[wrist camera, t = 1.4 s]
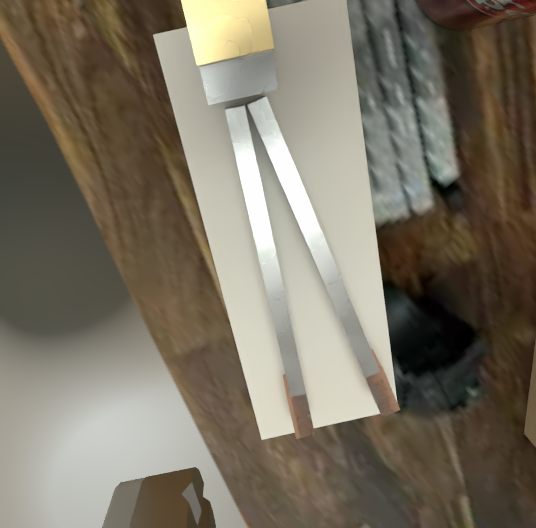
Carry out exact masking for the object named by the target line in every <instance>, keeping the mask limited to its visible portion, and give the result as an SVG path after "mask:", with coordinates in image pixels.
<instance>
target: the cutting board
mask: <svg viewBox="0 0 536 528" xmlns="http://www.w3.org/2000/svg"><path fill="white" fill-rule="evenodd" d="M268 15H269V20H270V26H271V31H272V36H273V42H274V47H275V48H274V49H273V50H272V56H273V62H274V67H275V73H276V78H277V83H278V89H279V90H274V91H270V92H265V93H261V94H256V95H252V96H247V97H243V98H238V99H234V100H229V101H225V102H220V103H216V104H211V105H208V101H207V97H206V93H205V89H204V85H203V81H202V76H201V72H200V68H199V66H197V64H196V60H195V55H194V51H193V47H192V43H191V39H190V35H189V31H188V27H185V28H181V29H176V30H172V31H168V32H163V33H159V34H154V35H153V37H154V41H155V44H156V48H157V52H158V56H159V59H160V63H161V67H162V70H163V74H164V78H165V82H166V85H167V89H168V93H169V96H170V100H171V104H172V108H173V111H174V115H175V119H176V122H177V126H178V130H179V134H180V137H181V141H182V145H183V149H184V152H185V156H186V160H187V163H188V167H189V171H190V175H191V178H192V182H193V186H194V189H195V193H196V197H197V201H198V204H199V208H200V212H201V215H202V219H203V223H204V227H205V230H206V234H207V238H208V241H209V245H210V249H211V253H212V256H213V260H214V264H215V268H216V271H217V275H218V279H219V282H220V286H221V290H222V294H223V297H224V301H225V305H226V308H227V312H228V316H229V320H230V323H231V327H232V331H233V334H234V338H235V342H236V346H237V349H238V353H239V357H240V361H241V364H242V368H243V372H244V375H245V379H246V383H247V387H248V390H249V394H250V398H251V401H252V405H253V409H254V413H255V416H256V420H257V424H258V427H259V431H260V435H261V439H262V440H263V439H267V438H272V437H276V436H281V435H285V434H290V433H294V432H295V431H294V427H293V422H292V418H291V414H290V410H289V405H288V401H287V396H286V391H285V385H284V380H283V375H284V374H285V370H284V366H283V361H282V357H281V353H280V348H279V344H278V340H277V335H276V331H275V327H274V322H273V318H272V313H271V309H270V305H269V300H268V296H267V292H266V287H265V283H264V279H263V274H262V270H261V266H260V261H259V257H258V252H257V248H256V244H255V239H254V235H253V231H252V226H251V222H250V218H249V213H248V209H247V205H246V200H245V196H244V191H243V187H242V183H241V178H240V174H239V170H238V165H237V161H236V157H235V152H234V148H233V144H232V139H231V135H230V130H229V126H228V122H227V117H226V113H225V108H226V107H230V106H235V105H239V104H244V105H245V109H246V114H247V119H248V123H249V128H250V133H251V137H252V142H253V147H254V151H255V156H256V161H257V165H258V170H259V175H260V179H261V184H262V189H263V193H264V198H265V203H266V208H267V212H268V217H269V222H270V226H271V231H272V236H273V240H274V245H275V250H276V254H277V259H278V264H279V268H280V273H281V278H282V282H283V287H284V292H285V296H286V301H287V306H288V311H289V315H290V320H291V325H292V329H293V334H294V339H295V343H296V348H297V353H298V357H299V362H300V367H301V371H302V376H303V381H304V385H305V390H306V395H307V399H308V404H309V409H310V414H311V418H312V423H313V428H317V427H322V426H326V425H331V424H335V423H340V422H344V421H349V420H353V419H358V418H362V417H367V416H371V415H376V414H380V412H379V409H378V407H377V405H376V403H375V401H374V399H373V396H372V394H371V392H370V390H369V387H368V385H367V383H366V380H365V378H364V376H363V373H362V371H361V369H360V367H359V364H358V362H357V360H356V357H355V355H354V353H353V350H352V348H351V346H350V343H349V341H348V339H347V336H346V334H345V332H344V330H343V327H342V325H341V323H340V320H339V318H338V316H337V313H336V311H335V309H334V306H333V304H332V302H331V299H330V297H329V295H328V293H327V290H326V288H325V286H324V283H323V281H322V279H321V276H320V274H319V272H318V269H317V267H316V265H315V262H314V260H313V258H312V256H311V253H310V251H309V249H308V246H307V244H306V242H305V239H304V237H303V235H302V232H301V230H300V228H299V225H298V223H297V221H296V219H295V216H294V214H293V212H292V209H291V207H290V205H289V202H288V200H287V198H286V195H285V193H284V191H283V188H282V186H281V184H280V181H279V179H278V177H277V175H276V172H275V170H274V168H273V165H272V163H271V161H270V158H269V156H268V154H267V151H266V149H265V147H264V144H263V142H262V140H261V138H260V135H259V133H258V131H257V128H256V126H255V124H254V121H253V119H252V117H251V114H250V112H249V110H248V107H247V105H246V103H247V102H250V101H252V100H254V99H256V98H258V97H260V96H262V95H263V96H266V97H267V99H268V102H269V104H270V107H271V109H272V112H273V114H274V116H275V119H276V121H277V124H278V126H279V128H280V131H281V133H282V136H283V138H284V141H285V143H286V145H287V148H288V150H289V153H290V155H291V157H292V160H293V162H294V165H295V167H296V170H297V172H298V174H299V177H300V179H301V182H302V184H303V186H304V189H305V191H306V194H307V196H308V199H309V201H310V203H311V206H312V208H313V211H314V213H315V215H316V218H317V220H318V223H319V225H320V228H321V230H322V232H323V235H324V237H325V240H326V242H327V244H328V247H329V249H330V252H331V254H332V257H333V259H334V261H335V264H336V266H337V269H338V271H339V273H340V276H341V278H342V281H343V283H344V286H345V288H346V290H347V293H348V295H349V298H350V300H351V302H352V305H353V307H354V310H355V312H356V315H357V317H358V319H359V322H360V324H361V327H362V329H363V331H364V334H365V336H366V339H367V341H368V344H369V346H370V348H371V349H373V351H374V353H375V355H376V357H377V358H378V360H379V362H380V364H381V366H382V368H383V369H384V372H385V374H386V376H387V379H388V381H389V384H390V386H391V389H392V391H393V394H394V396H395V398H396V401H397V397H396V389H395V381H394V373H393V365H392V357H391V349H390V341H389V333H388V325H387V318H386V310H385V302H384V294H383V286H382V278H381V270H380V262H379V254H378V246H377V238H376V230H375V222H374V214H373V207H372V199H371V191H370V183H369V175H368V167H367V159H366V151H365V143H364V135H363V127H362V119H361V111H360V103H359V96H358V88H357V80H356V72H355V64H354V56H353V48H352V40H351V32H350V24H349V16H348V8H347V0H307V1H302V2H298V3H293V4H289V5H284V6H280V7H275V8H271V9H268Z"/></svg>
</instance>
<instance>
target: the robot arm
mask: <svg viewBox="0 0 536 528" xmlns="http://www.w3.org/2000/svg"><path fill="white" fill-rule="evenodd" d="M203 487H204V482H203V480H202V477H201V474H200V471H199V470H198V469H197V468H196V467H194V468H189V469H184V470H179V471H174V472H169V473H164V474H159V475H153V476H148V477H146V478H141V479H135V480H131V481H126V482H121V483H120V484H119V485H118V486H117V487H116V488H115V490H114V493H113V496H112V499H111V503H110V505H109V508H108V511H107V515H106V517H105V520H104V523H103V527H102V528H216V525H215V520H214V515H213V510H212V507H211V504H210V502H209V501H208V500H207V499H205V498H204V497H203Z"/></svg>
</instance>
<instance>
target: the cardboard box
mask: <svg viewBox="0 0 536 528" xmlns="http://www.w3.org/2000/svg"><path fill="white" fill-rule="evenodd" d="M524 434H525V435H526V436H527V438H528V439H529V440H530V441H531V442H532V443H533V445H534V446H535V447H536V341H535V349H534V357H533V365H532V373H531V381H530V389H529V397H528V405H527V413H526V421H525V429H524Z"/></svg>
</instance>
